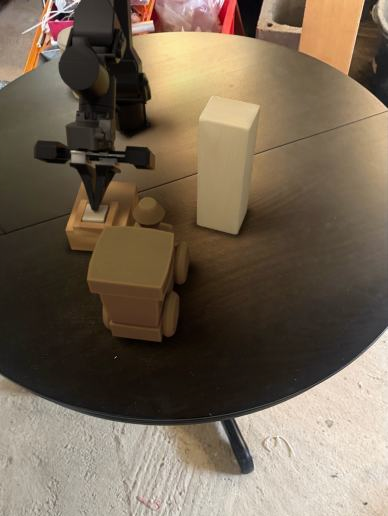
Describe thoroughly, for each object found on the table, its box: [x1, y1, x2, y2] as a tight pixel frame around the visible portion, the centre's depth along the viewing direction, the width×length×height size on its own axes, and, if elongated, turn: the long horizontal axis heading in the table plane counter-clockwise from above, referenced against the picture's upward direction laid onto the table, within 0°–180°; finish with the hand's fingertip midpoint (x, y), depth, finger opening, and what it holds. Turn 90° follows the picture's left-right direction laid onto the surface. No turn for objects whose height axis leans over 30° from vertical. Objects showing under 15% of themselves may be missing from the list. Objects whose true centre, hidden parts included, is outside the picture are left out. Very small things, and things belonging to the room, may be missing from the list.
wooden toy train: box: [86, 196, 190, 343], centre depth 71 cm, size 20×11×17 cm, turn 172°
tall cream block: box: [196, 95, 261, 235], centre depth 79 cm, size 8×7×21 cm
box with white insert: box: [65, 180, 140, 252], centre depth 84 cm, size 14×10×6 cm
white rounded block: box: [82, 204, 109, 223], centre depth 80 cm, size 4×4×2 cm
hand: (94, 210), depth 79 cm, fingers closed, pressing on white rounded block
